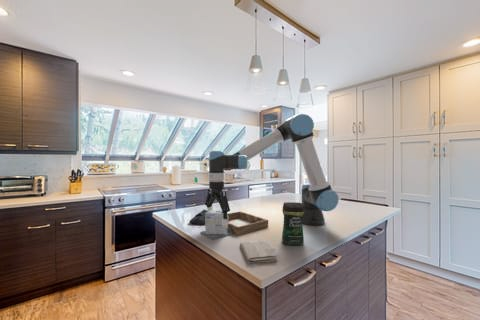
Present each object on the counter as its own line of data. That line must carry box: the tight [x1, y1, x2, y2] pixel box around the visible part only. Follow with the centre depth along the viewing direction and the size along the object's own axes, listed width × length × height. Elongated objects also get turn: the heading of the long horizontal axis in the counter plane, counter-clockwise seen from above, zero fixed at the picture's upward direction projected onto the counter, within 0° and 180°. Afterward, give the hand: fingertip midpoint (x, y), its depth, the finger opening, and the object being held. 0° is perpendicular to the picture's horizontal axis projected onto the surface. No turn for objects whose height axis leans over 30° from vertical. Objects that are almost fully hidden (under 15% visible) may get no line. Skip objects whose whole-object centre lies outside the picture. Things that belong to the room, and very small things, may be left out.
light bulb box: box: [204, 209, 229, 235], centre depth 112 cm, size 11×7×11 cm, turn 85°
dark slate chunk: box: [189, 209, 207, 226], centre depth 137 cm, size 15×22×5 cm
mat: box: [200, 230, 234, 240], centre depth 112 cm, size 12×12×1 cm
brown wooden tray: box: [227, 210, 269, 236], centre depth 126 cm, size 26×22×4 cm
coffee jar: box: [281, 201, 305, 246], centre depth 100 cm, size 10×8×19 cm
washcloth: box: [239, 239, 278, 265], centre depth 89 cm, size 12×18×3 cm, turn 11°
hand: (216, 222), depth 112 cm, fingers open, 13 cm apart
